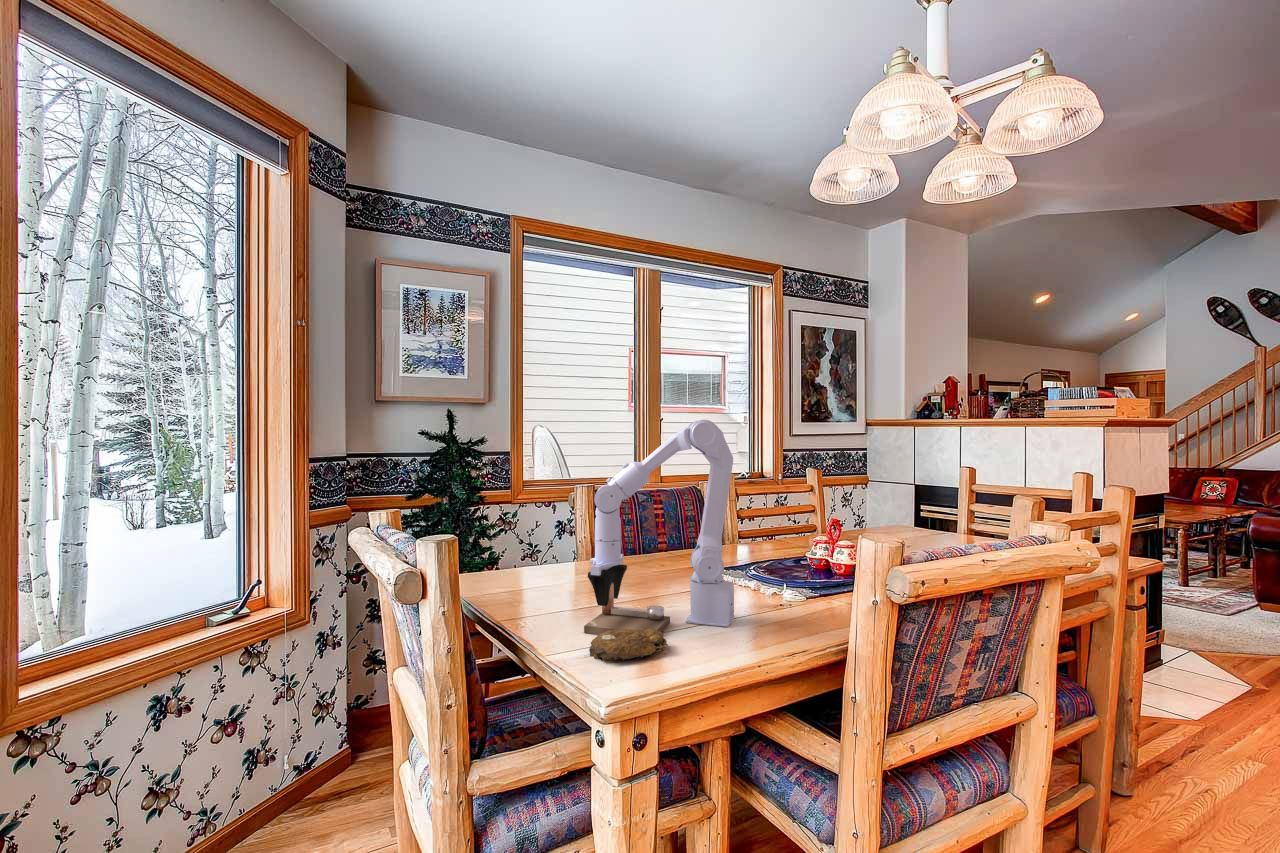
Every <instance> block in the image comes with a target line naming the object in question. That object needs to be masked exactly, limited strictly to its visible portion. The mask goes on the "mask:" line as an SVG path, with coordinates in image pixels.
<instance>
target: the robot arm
mask: <svg viewBox="0 0 1280 853" xmlns="http://www.w3.org/2000/svg"><path fill="white" fill-rule="evenodd" d="M693 448H695V449H696V450H698V452H700V453H702V455H703V457H704V458H705V459H706V460H707V461H708V463H709V464H710V465H709V473H708V477H707V478H708V479H707V486H706V492H705V493H706V494H705V497H704V498H705V500H704V506H703V510H702V519H701V525H700V532H699V535H698V538H697V542H696V546H695V548H694V550H693V551H692V553H691V555H690V563H691V566H692V568H693V569H694V571H693V574H691V575H690V581H689V582H690V615H688V616H687V617H686V619H685V621H684V623H686V624H697V625H706V626H707V625H708V626H715V627H729V626H730V625H731V623H732V622H733V620H734V618H735V617H736V616H735V587H734V582H733V581H730V580H729V581H728V580H724V576H723V574H724V570H725V565H724V561H723V557H722V554H723V541H722V540H723V531H724V526H725V525H724V524H725V518H726V511H727V504H728V498H729V492H730V484H731V479H732V471H733V464H734V457H733V454H732V452H731V450H730V447H729V445H728V443H727V440H726V439H725V434H724V432H723V431H722V429H720V428H719V427H718V425H717V424H715V423H714V422H713V421H712V420H709V419H700V420H695V421H693V422H691V423H690V424H689V425H688V426H686V427H683V428H682V429H680V430H679V431H677V432H676V433H674V434H672V435H671V436H670V437H669V438H668V439H666V440H665V441H664V442H663V443H662V444H661V445H659V446H658V447H657V448H656V449H654V451H652V452H651V453H650V454H649V455H648V456H646V458H644V459H643V460H642V461H640V462H639V461H631V462H630V463H628V462H626V463H624V464H623V465H622V468H623V469H622V470H620V471H619V472H617V473H616V474H615V475H614V476H613V477H612V478H610V477H608V478H607V479H606V480H605V482H606V483H607V484H604V485H601V486H600V487H599V488H598V489H597V490H596V492H595V494H594V504H595V506H596V508H595V511H594V512H595V513H594V514H595V518H594V557H591V558H589V563H592V565H590V570H589V571H588V572H587V578H588V579H589V582H590V584H591V586H592V588H593V593H594V595H595V600H596V604H597V606H601V607H602V606H607V605H608V601H609V592H610V586H611V583H612V582H614V600H615V599H618V598H619V595H620V594H619V593H620V589H621V586H622V583H623V582H622V581H623V578H624V575H625V573H626V571H627V569H628V565H627V564H623V563H624V553H622V539H621V538H622V531H621V530H622V526H621V525H622V521H621V520H622V519H621V517H620V507H621V504H622V501H623V500H628V499H629V498H631V497H632V496H633V495H634V494H635V493H637V492H638V491H639V490H640V489H642V488H643V487H644V486H645V485H647V484H648V483H649V482H650V474H651V473H652V472H653V471H655V470H656V469H658V468H659V467H660V466H661V465H663V463H665V462H666V461H667V460H669V459H670V458H671V457H673V456H674V455H676V454H677V453H678V452H682V451H688V450H692V449H693Z"/></svg>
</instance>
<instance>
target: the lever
mask: <svg viewBox="0 0 1280 853" xmlns="http://www.w3.org/2000/svg"><path fill="white" fill-rule="evenodd" d="M614 604H615V599H614V582H612V583H611V586H610V592H609V601H608V605H607V606H601V613H603V614H616V615H626V616H636V617H646V618H648V619H652V620H660V619H663V618H664V616H665V607H664V606H662V605H649V606H647V609H643V608H642V609H641V608H632V607H621V606H615V605H614Z"/></svg>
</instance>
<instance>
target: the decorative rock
mask: <svg viewBox="0 0 1280 853" xmlns="http://www.w3.org/2000/svg"><path fill="white" fill-rule="evenodd" d="M667 642H668V641H667V639H666V638H664V633H663V631H662V632H659V631H657V630H655V629H630V628H628V629H620V630H617V629H615V630H611V631H607V632H604V633H600V634H599V635H597V636H596V637H595V638H593V639H592V640H591V641H590V647H589V650H588V651H589V657H593V658H594V659H595V658H598V659H599V658H602V660H603V661H605V660H608V659H609V661H615V660H616V661H617V660H623V661H625V660H631V659H633V658H639V659H641V658H644V656H645V657H646V656H650V655H652V654H653V653H657V652H661V651H664V649H665V648H666V646H669V644H668V643H667Z"/></svg>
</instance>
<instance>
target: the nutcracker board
mask: <svg viewBox="0 0 1280 853" xmlns="http://www.w3.org/2000/svg"><path fill="white" fill-rule="evenodd" d="M670 624H671V616H667V615H664V618H663V619H660V620H652V619H648V618H646V617H636V616H626V615H616V614H603V613H602V612H601V613H600V614H599V615H597V616H596V617H595V618H593V619H592V620H590V621H588V622H587V623H586V624H585V625H583V634H589V635H597V636H598V635H599V634H600V633H604V632H607V631H611V630H615V629H617V630H620V629H628V628H630V629H655V630H657V631H659V632H662V633H663V632H664V631H665V630H666V629H667V628H668V627H669V625H670Z"/></svg>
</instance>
